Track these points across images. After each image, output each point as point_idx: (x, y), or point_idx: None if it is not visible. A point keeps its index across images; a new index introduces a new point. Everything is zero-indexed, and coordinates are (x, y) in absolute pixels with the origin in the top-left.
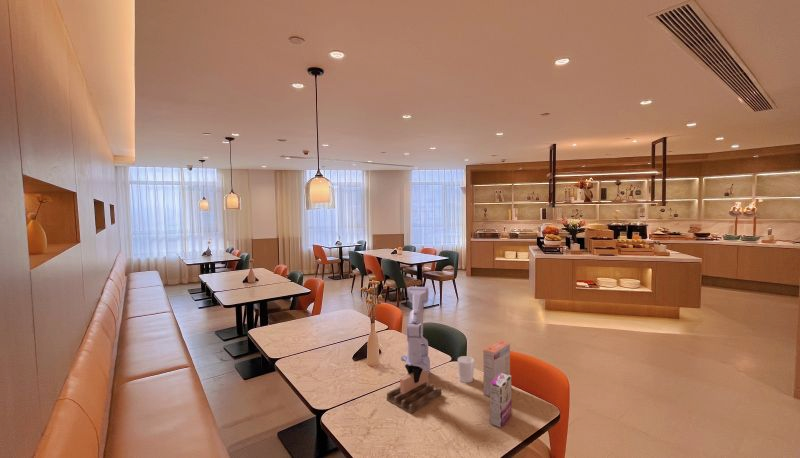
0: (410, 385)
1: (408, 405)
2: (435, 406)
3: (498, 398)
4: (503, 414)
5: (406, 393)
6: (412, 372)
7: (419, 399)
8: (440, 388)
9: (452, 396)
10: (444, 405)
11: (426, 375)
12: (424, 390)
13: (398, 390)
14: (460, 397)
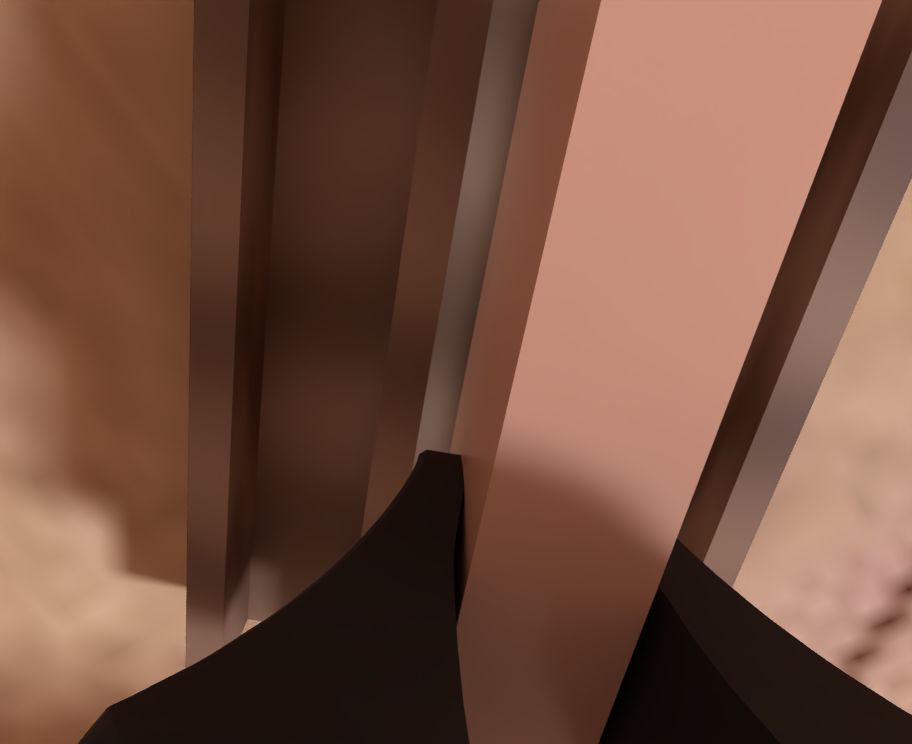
0: (493, 295)
1: (409, 35)
2: (96, 325)
3: None
4: None
5: None
6: (625, 704)
7: (227, 185)
8: (186, 656)
9: (97, 628)
10: (24, 414)
11: None
12: (367, 505)
13: (794, 279)
14: (13, 654)
